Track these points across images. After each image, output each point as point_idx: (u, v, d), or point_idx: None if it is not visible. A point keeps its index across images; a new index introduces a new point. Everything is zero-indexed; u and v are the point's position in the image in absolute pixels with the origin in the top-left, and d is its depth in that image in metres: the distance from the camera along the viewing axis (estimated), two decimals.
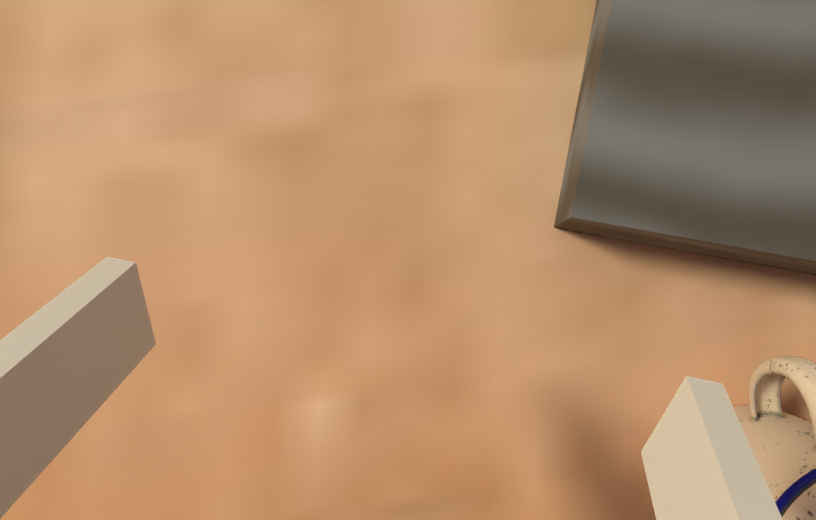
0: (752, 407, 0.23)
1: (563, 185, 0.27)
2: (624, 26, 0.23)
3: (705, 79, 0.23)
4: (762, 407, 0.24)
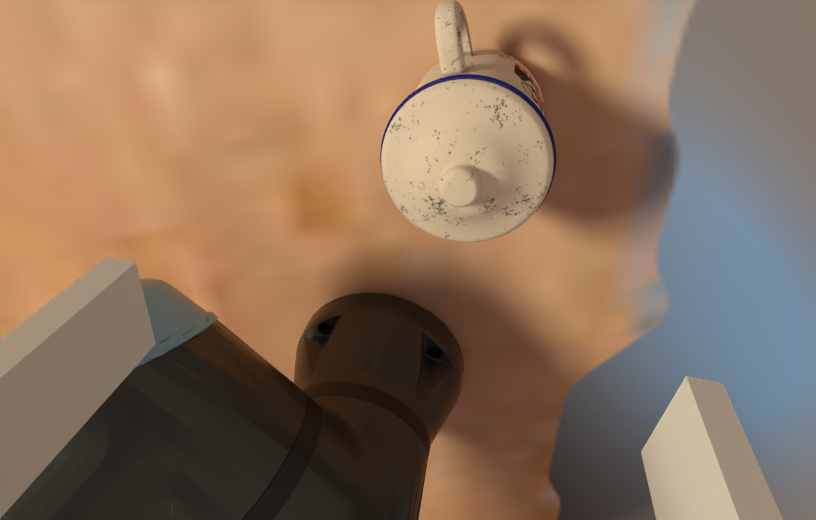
0: None
1: None
2: None
3: None
4: (463, 49, 0.29)
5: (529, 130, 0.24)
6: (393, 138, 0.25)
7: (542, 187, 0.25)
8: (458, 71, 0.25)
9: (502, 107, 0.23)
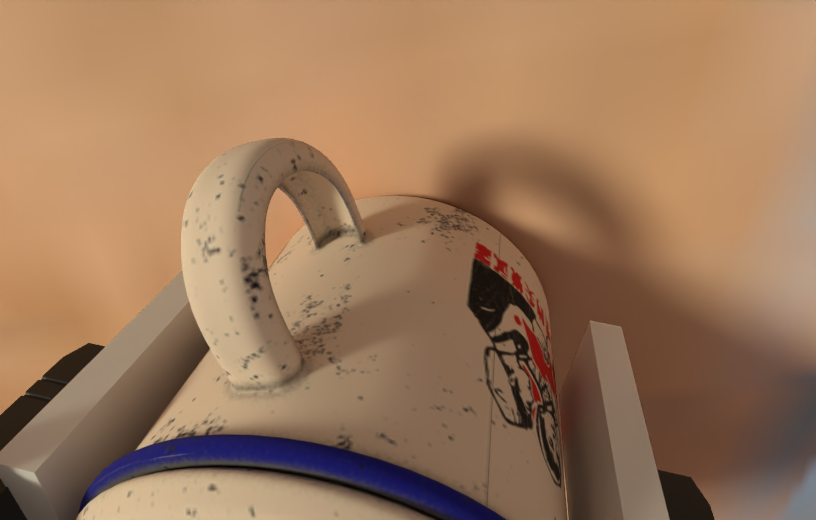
0: (307, 225, 0.11)
1: None
2: None
3: None
4: (346, 219, 0.12)
5: None
6: None
7: None
8: (270, 382, 0.08)
9: None
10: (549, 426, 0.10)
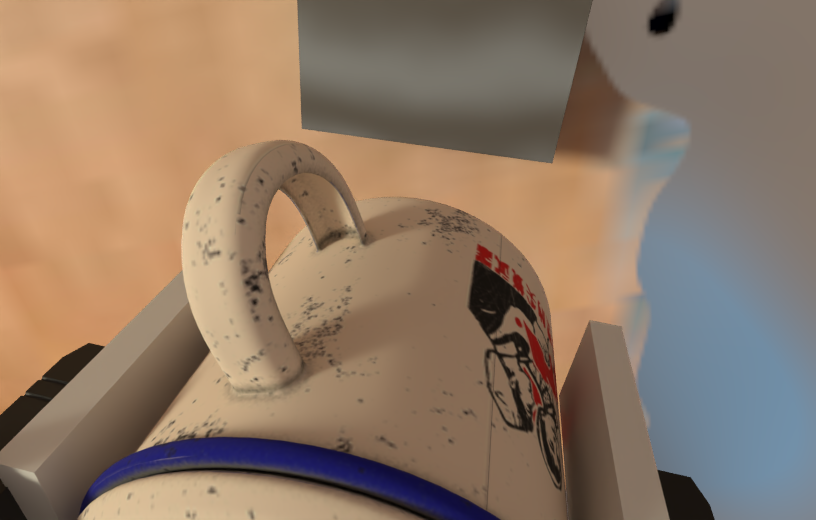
0: (308, 227, 0.11)
1: None
2: None
3: (384, 3, 0.26)
4: (348, 220, 0.12)
5: None
6: None
7: None
8: (271, 384, 0.08)
9: None
10: (550, 429, 0.10)
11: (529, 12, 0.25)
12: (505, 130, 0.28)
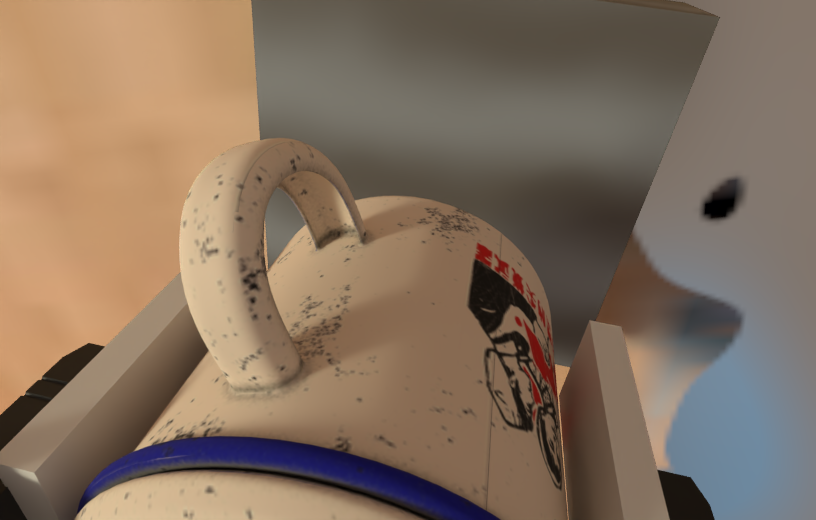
0: (307, 226, 0.11)
1: None
2: (277, 127, 0.20)
3: (372, 189, 0.20)
4: (347, 219, 0.12)
5: None
6: None
7: None
8: (269, 383, 0.08)
9: None
10: (550, 428, 0.10)
11: (556, 215, 0.20)
12: None
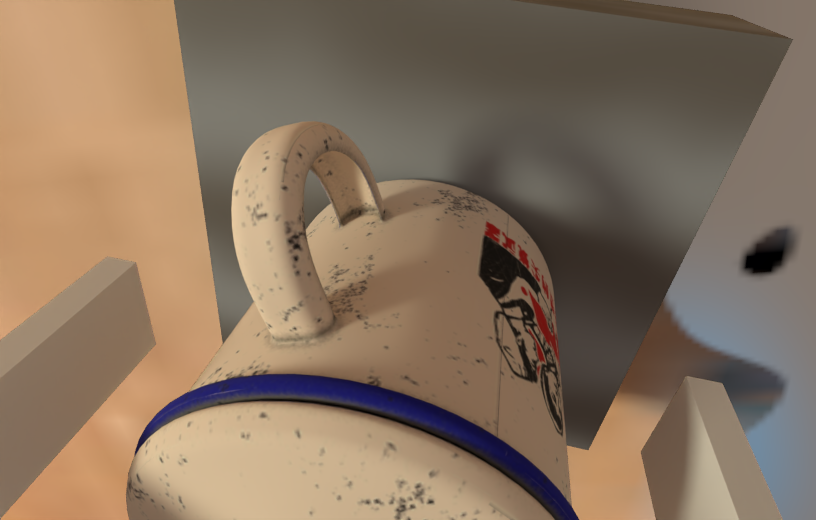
0: (331, 204, 0.12)
1: None
2: (219, 170, 0.16)
3: None
4: (367, 199, 0.13)
5: None
6: (137, 511, 0.09)
7: None
8: (307, 333, 0.09)
9: (419, 504, 0.07)
10: (552, 384, 0.11)
11: (568, 280, 0.16)
12: None
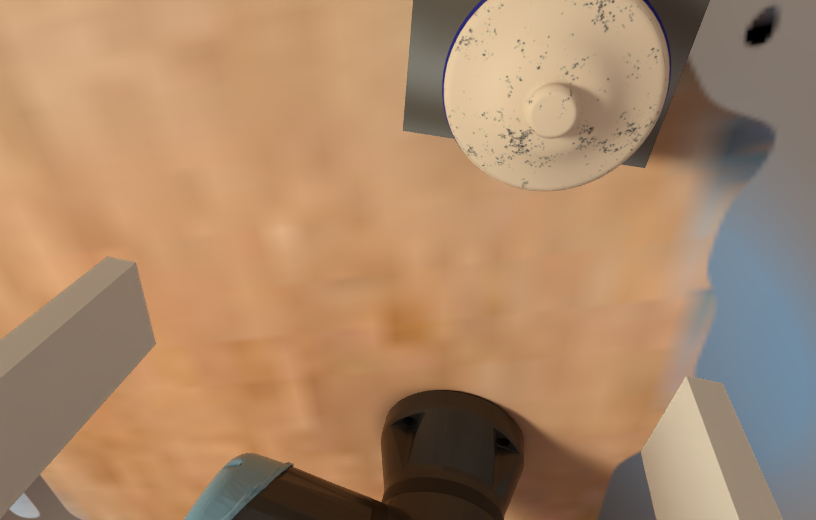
0: None
1: None
2: None
3: None
4: None
5: (642, 33, 0.18)
6: (461, 57, 0.20)
7: (653, 112, 0.20)
8: None
9: (608, 3, 0.18)
10: None
11: None
12: None
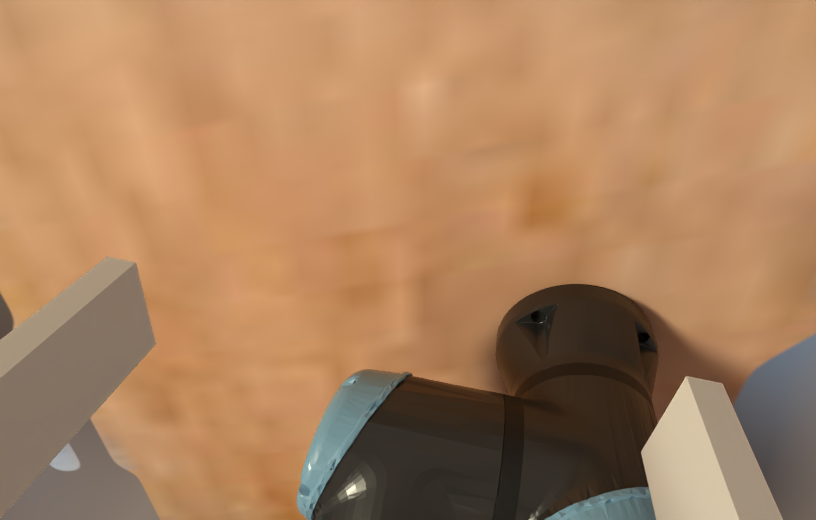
0: None
1: None
2: None
3: None
4: None
5: None
6: None
7: None
8: None
9: None
10: None
11: None
12: None
